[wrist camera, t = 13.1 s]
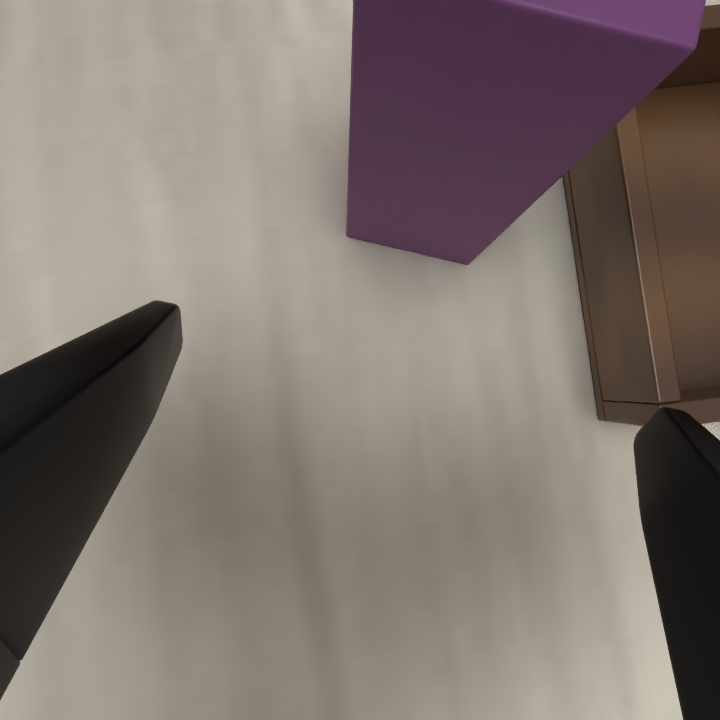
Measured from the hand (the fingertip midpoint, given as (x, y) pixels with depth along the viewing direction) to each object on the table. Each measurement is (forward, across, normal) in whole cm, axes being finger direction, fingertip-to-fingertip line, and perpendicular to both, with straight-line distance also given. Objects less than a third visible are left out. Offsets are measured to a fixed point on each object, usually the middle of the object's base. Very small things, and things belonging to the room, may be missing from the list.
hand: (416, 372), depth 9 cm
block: (+13, 0, +2) cm, 13 cm away
